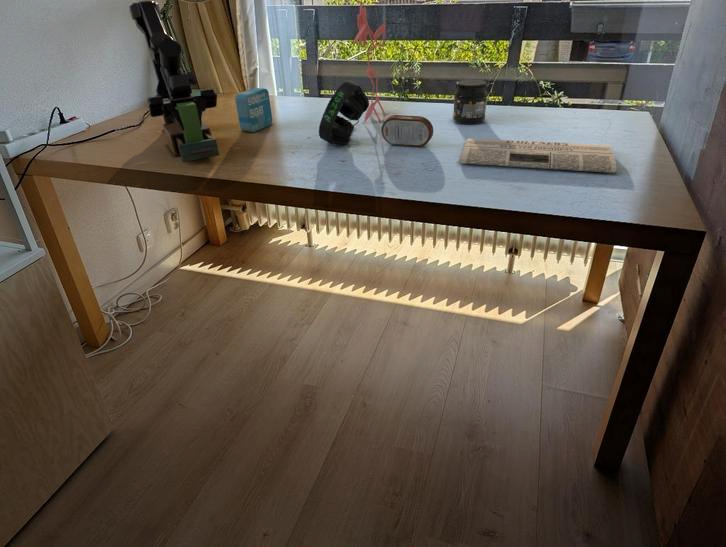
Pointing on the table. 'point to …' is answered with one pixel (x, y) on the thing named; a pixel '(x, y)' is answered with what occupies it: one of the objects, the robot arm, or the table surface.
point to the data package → (254, 109)
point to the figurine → (361, 36)
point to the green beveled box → (190, 121)
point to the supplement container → (470, 101)
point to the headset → (343, 113)
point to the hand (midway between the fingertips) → (192, 128)
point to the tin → (407, 130)
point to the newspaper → (539, 155)
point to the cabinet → (175, 130)
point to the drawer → (197, 148)
